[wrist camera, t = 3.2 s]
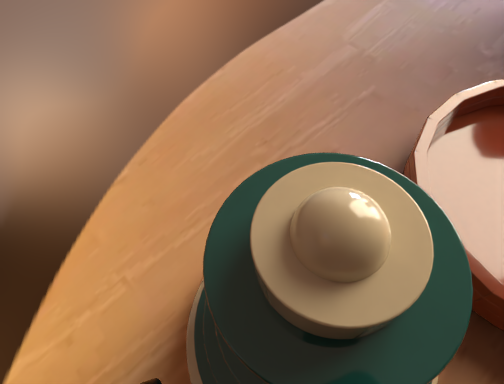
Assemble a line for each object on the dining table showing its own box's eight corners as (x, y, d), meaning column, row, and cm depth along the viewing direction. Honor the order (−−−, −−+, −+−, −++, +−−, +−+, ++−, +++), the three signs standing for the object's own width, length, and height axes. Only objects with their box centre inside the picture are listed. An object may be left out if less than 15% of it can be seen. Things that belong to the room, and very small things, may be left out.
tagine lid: (485, 415, 15) (1009, 436, 4) (235, 537, 13) (48, 1053, 3) (352, 202, 21) (427, -20, 10) (168, 273, 19) (21, 103, 8)
